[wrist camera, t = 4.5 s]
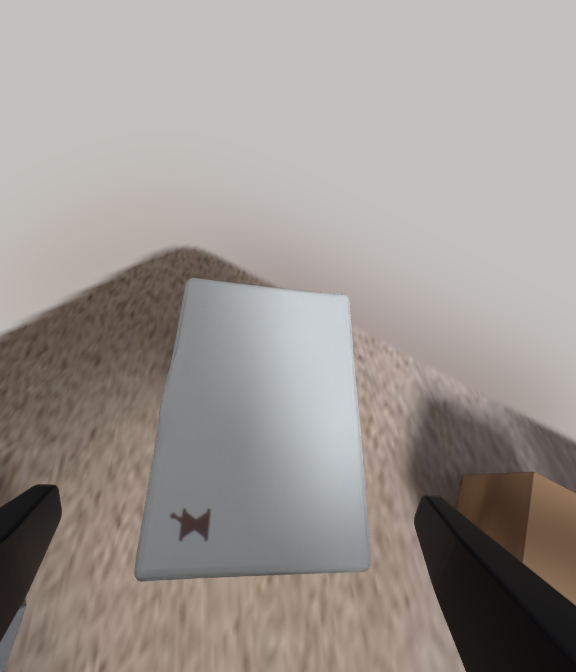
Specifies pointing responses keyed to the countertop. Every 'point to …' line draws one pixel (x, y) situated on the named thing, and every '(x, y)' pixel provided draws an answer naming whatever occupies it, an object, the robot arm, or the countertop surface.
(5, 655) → the slate block
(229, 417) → the skincare box
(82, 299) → the countertop surface
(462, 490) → the walnut block
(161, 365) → the countertop surface
